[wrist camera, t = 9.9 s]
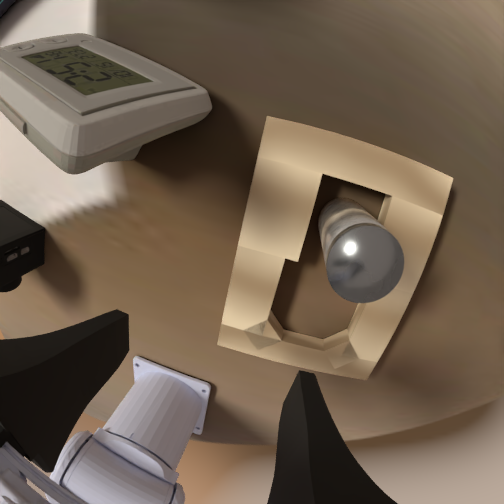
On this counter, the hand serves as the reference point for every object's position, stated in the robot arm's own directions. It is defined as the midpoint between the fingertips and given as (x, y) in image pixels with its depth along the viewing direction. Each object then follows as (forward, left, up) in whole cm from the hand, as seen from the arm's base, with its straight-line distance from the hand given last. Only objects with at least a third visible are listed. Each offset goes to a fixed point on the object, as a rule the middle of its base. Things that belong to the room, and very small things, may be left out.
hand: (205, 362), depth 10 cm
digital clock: (+11, +13, -10) cm, 20 cm away
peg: (+5, -5, -10) cm, 12 cm away
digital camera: (-4, +26, -10) cm, 28 cm away
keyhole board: (+2, -5, -10) cm, 11 cm away
